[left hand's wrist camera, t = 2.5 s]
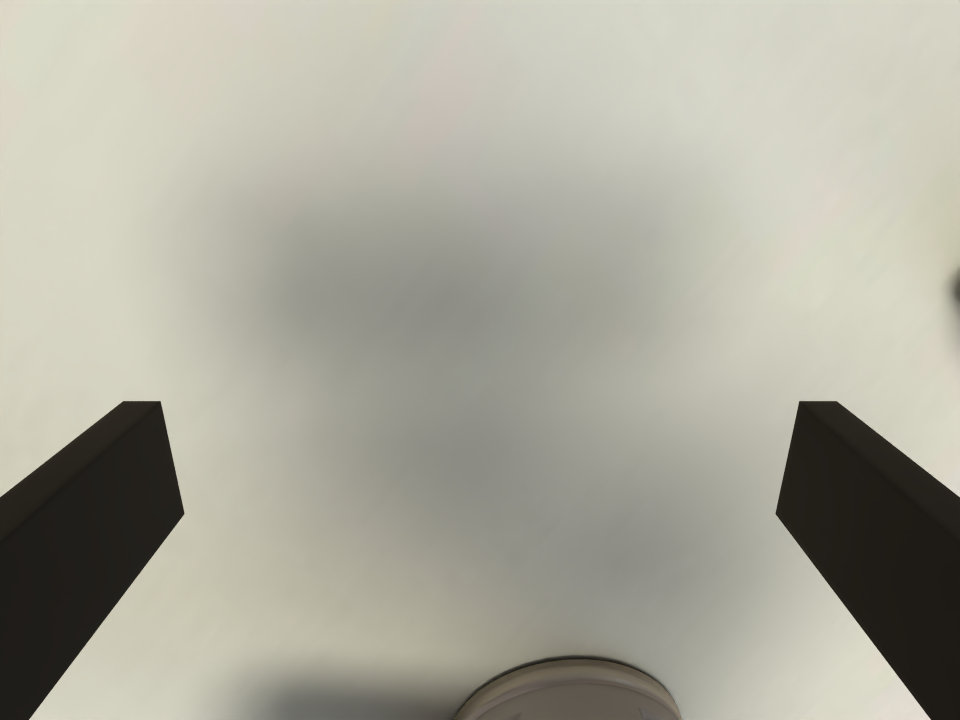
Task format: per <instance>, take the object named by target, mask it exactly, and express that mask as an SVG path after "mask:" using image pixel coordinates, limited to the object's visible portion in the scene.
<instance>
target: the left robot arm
mask: <svg viewBox="0 0 960 720" xmlns="http://www.w3.org/2000/svg"><path fill="white" fill-rule="evenodd" d="M183 515H184V509H183V505H182V500H181V495H180V490H179V486H178V481H177V476H176V472H175V467H174V462H173V457H172V453H171V448H170V443H169V439H168V434H167V429H166V424H165V420H164V415H163V410H162V406H161V401H123V402H122V403H120V404H119V405H118V406H117V407H115V408H114V409H113V410H112V411H110V412H109V413H108V414H106V415H105V416H104V417H103V418H101V419H100V420H99V421H97V422H96V423H95V424H94V425H92V426H91V427H90V428H88V429H87V430H86V431H85V432H83V433H82V434H81V435H80V436H78V437H77V438H76V439H74V440H73V441H72V442H71V443H69V444H68V445H67V446H65V447H64V448H63V449H62V450H60V451H59V452H58V453H56V454H55V455H54V456H53V457H51V458H50V459H49V460H48V461H46V462H45V463H44V464H42V465H41V466H40V467H39V468H37V469H36V470H35V471H33V472H32V473H31V474H30V475H28V476H27V477H26V478H24V479H23V480H22V481H21V482H19V483H18V484H17V485H16V486H14V487H13V488H12V489H10V490H9V491H8V492H7V493H5V494H4V495H3V496H1V497H0V720H29V719H30V718H31V716H32V715H33V714H34V712H35V711H36V710H37V708H38V707H39V706H40V704H41V703H42V702H43V700H44V699H45V698H46V696H47V695H48V694H49V692H50V691H51V690H52V688H53V687H54V686H55V685H56V683H57V682H58V681H59V679H60V678H61V677H62V675H63V674H64V673H65V671H66V670H67V669H68V667H69V666H70V665H71V663H72V662H73V661H74V659H75V658H76V657H77V655H78V654H79V653H80V651H81V650H82V649H83V647H84V646H85V645H86V643H87V642H88V641H89V640H90V638H91V637H92V636H93V634H94V633H95V632H96V630H97V629H98V628H99V626H100V625H101V624H102V622H103V621H104V620H105V618H106V617H107V616H108V614H109V613H110V612H111V610H112V609H113V608H114V606H115V605H116V604H117V602H118V601H119V600H120V598H121V597H122V596H123V595H124V593H125V592H126V591H127V589H128V588H129V587H130V585H131V584H132V583H133V581H134V580H135V579H136V577H137V576H138V575H139V573H140V572H141V571H142V569H143V568H144V567H145V565H146V564H147V563H148V561H149V560H150V559H151V557H152V556H153V555H154V553H155V552H156V551H157V549H158V548H159V547H160V546H161V544H162V543H163V542H164V540H165V539H166V538H167V536H168V535H169V534H170V532H171V531H172V530H173V528H174V527H175V526H176V524H177V523H178V522H179V520H180V519H181V518H182V516H183ZM776 515H777V516H778V518H779V519H780V520H781V522H782V523H783V524H784V526H785V527H786V528H787V530H788V531H789V532H790V534H791V535H792V536H793V538H794V539H795V540H796V542H797V543H798V544H799V546H800V547H801V548H802V549H803V551H804V552H805V553H806V555H807V556H808V557H809V559H810V560H811V561H812V563H813V564H814V565H815V567H816V568H817V569H818V571H819V572H820V573H821V575H822V576H823V577H824V579H825V580H826V581H827V583H828V584H829V585H830V587H831V588H832V589H833V591H834V592H835V593H836V595H837V596H838V597H839V598H840V600H841V601H842V602H843V604H844V605H845V606H846V608H847V609H848V610H849V612H850V613H851V614H852V616H853V617H854V618H855V620H856V621H857V622H858V624H859V625H860V626H861V628H862V629H863V630H864V632H865V633H866V634H867V636H868V637H869V638H870V640H871V641H872V642H873V643H874V645H875V646H876V647H877V649H878V650H879V651H880V653H881V654H882V655H883V657H884V658H885V659H886V661H887V662H888V663H889V665H890V666H891V667H892V669H893V670H894V671H895V673H896V674H897V675H898V677H899V678H900V679H901V681H902V682H903V683H904V685H905V686H906V687H907V688H908V690H909V691H910V692H911V694H912V695H913V696H914V698H915V699H916V700H917V702H918V703H919V704H920V706H921V707H922V708H923V710H924V711H925V712H926V714H927V715H928V716H929V718H930V719H931V720H960V497H959V496H957V495H956V494H955V493H953V492H952V491H951V490H950V489H948V488H947V487H946V486H944V485H943V484H942V483H941V482H939V481H938V480H937V479H936V478H934V477H933V476H932V475H930V474H929V473H928V472H927V471H925V470H924V469H923V468H921V467H920V466H919V465H918V464H916V463H915V462H914V461H912V460H911V459H910V458H909V457H907V456H906V455H905V454H904V453H902V452H901V451H900V450H898V449H897V448H896V447H895V446H893V445H892V444H891V443H889V442H888V441H887V440H886V439H884V438H883V437H882V436H880V435H879V434H878V433H877V432H875V431H874V430H873V429H872V428H870V427H869V426H868V425H866V424H865V423H864V422H863V421H861V420H860V419H859V418H857V417H856V416H855V415H854V414H852V413H851V412H850V411H848V410H847V409H846V408H845V407H843V406H842V405H841V404H840V403H838V402H837V401H799V406H798V410H797V415H796V420H795V424H794V429H793V434H792V439H791V443H790V448H789V453H788V457H787V462H786V467H785V472H784V476H783V481H782V486H781V490H780V495H779V500H778V505H777V509H776ZM454 720H682V718H681V716H680V713H679V710H678V708H677V706H676V704H675V702H674V700H673V698H672V697H671V696H670V694H669V693H668V692H667V691H666V690H665V689H664V688H663V687H662V686H661V685H660V684H659V683H658V682H656V681H655V680H654V679H652V678H651V677H649V676H647V675H645V674H644V673H642V672H640V671H637V670H635V669H633V668H630V667H627V666H624V665H621V664H616V663H612V662H607V661H600V660H589V659H569V660H558V661H550V662H545V663H540V664H536V665H532V666H528V667H525V668H522V669H519V670H516V671H514V672H511V673H509V674H507V675H505V676H502V677H500V678H499V679H497V680H495V681H493V682H491V683H490V684H488V685H487V686H485V687H484V688H482V689H481V690H480V691H478V692H477V693H476V694H474V695H473V696H472V697H471V698H470V699H469V700H468V701H467V702H466V703H465V704H464V706H463V707H462V708H461V709H460V711H459V712H458V714H457V715H456V716H455V718H454Z"/></svg>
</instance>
